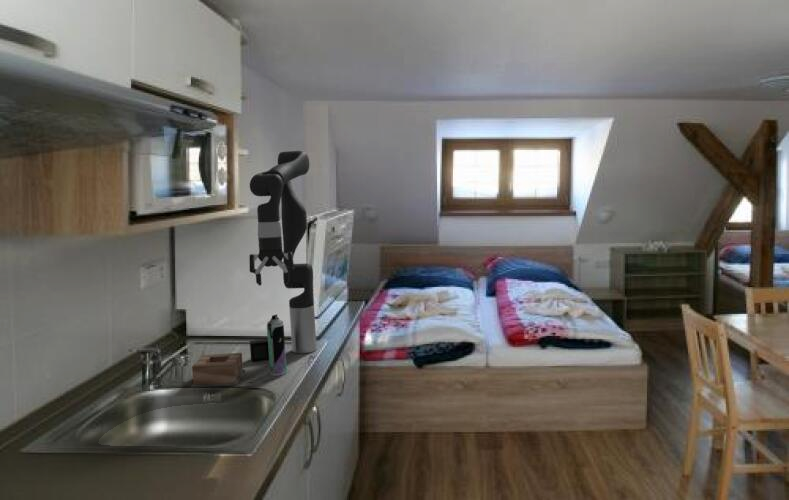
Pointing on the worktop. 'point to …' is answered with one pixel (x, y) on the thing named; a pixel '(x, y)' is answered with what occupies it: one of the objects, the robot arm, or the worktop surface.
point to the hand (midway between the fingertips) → (272, 284)
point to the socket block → (218, 370)
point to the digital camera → (259, 350)
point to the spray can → (276, 346)
